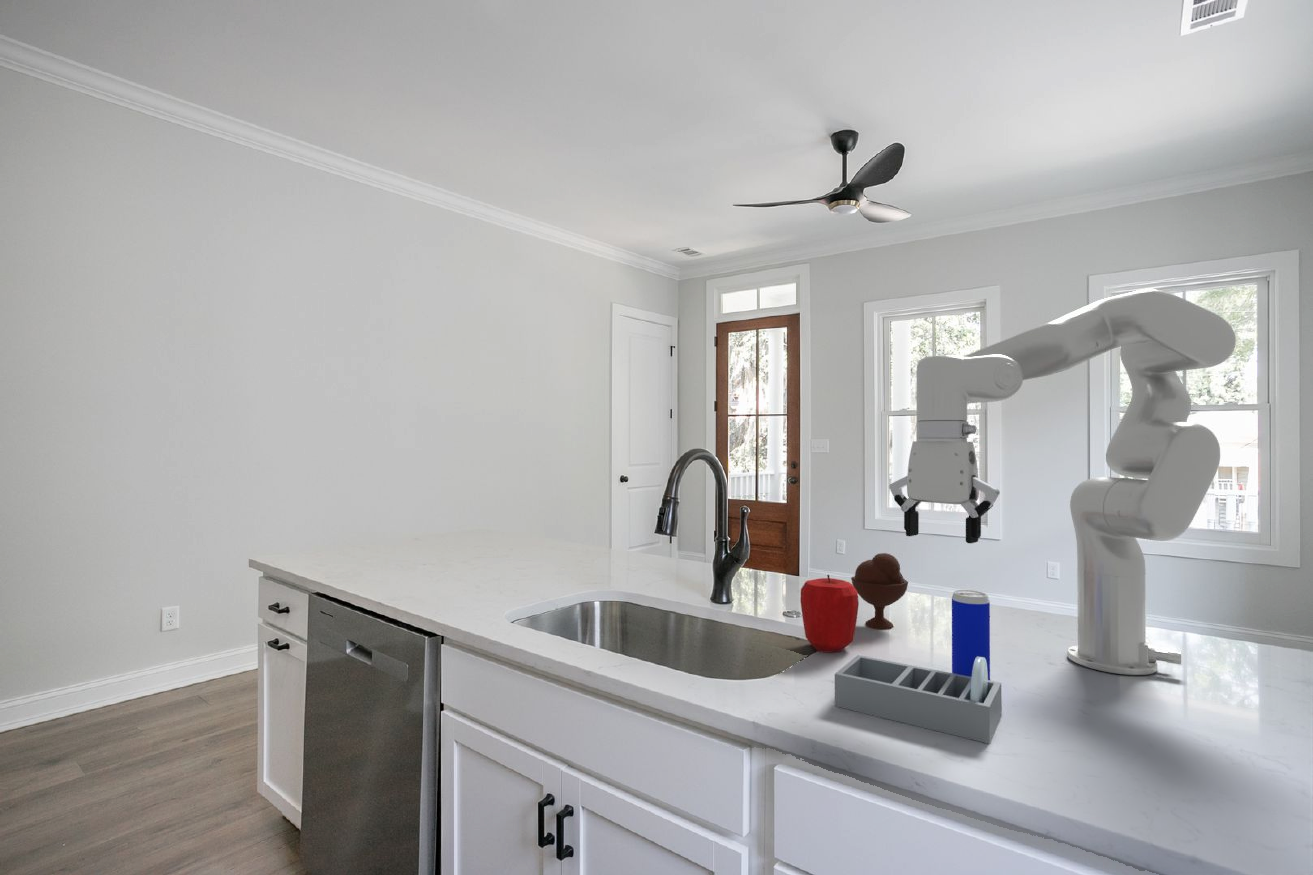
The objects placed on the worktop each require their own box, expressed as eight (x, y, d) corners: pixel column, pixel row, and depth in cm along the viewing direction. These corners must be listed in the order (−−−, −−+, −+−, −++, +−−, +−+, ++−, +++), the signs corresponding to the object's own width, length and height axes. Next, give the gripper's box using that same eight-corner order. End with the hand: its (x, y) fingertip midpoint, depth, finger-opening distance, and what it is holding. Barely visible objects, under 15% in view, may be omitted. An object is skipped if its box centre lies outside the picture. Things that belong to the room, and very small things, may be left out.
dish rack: (1001, 715, 90) (1001, 682, 90) (989, 743, 82) (989, 706, 82) (857, 684, 101) (857, 654, 101) (834, 705, 93) (834, 673, 93)
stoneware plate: (987, 708, 90) (987, 650, 90) (977, 729, 83) (977, 667, 83) (981, 707, 90) (981, 649, 90) (970, 727, 84) (970, 665, 84)
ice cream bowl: (898, 618, 138) (898, 548, 139) (914, 634, 127) (913, 557, 127) (847, 617, 140) (847, 547, 140) (858, 632, 128) (858, 557, 128)
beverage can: (987, 688, 99) (986, 590, 100) (992, 701, 95) (992, 598, 95) (950, 684, 101) (950, 588, 101) (953, 697, 96) (953, 595, 96)
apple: (857, 660, 112) (857, 582, 112) (797, 654, 116) (796, 577, 116) (860, 642, 122) (860, 570, 122) (805, 637, 126) (804, 567, 126)
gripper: (1007, 432, 101) (1007, 542, 101) (901, 433, 114) (901, 531, 114) (988, 432, 96) (988, 548, 96) (879, 432, 109) (879, 535, 109)
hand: (941, 538), depth 105 cm, fingers open, 9 cm apart
